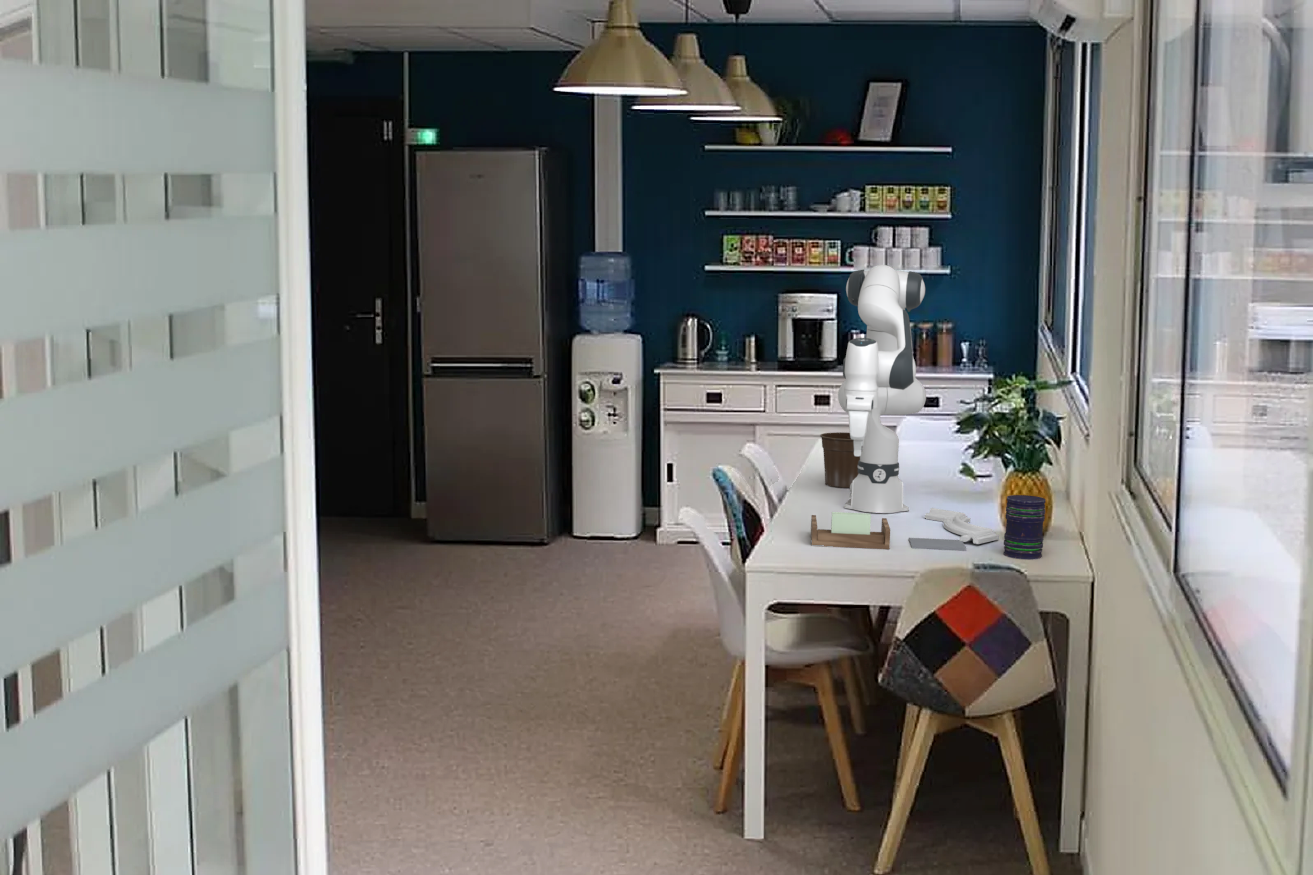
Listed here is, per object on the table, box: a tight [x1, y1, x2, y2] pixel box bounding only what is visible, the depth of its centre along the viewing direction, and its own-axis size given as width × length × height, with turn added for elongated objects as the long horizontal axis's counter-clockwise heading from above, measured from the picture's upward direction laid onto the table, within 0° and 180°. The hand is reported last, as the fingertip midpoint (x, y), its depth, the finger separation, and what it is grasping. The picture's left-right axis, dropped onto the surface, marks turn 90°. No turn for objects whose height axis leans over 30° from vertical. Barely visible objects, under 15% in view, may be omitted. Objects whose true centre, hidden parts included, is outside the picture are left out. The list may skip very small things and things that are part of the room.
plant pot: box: [819, 431, 860, 489], centre depth 518 cm, size 16×16×16 cm
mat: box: [908, 537, 967, 551], centre depth 427 cm, size 11×14×1 cm
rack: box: [810, 514, 891, 550], centre depth 428 cm, size 16×20×5 cm
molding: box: [924, 507, 1000, 545], centre depth 448 cm, size 42×12×3 cm, turn 6°
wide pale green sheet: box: [830, 511, 872, 535], centre depth 424 cm, size 2×10×7 cm, turn 86°
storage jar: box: [1003, 494, 1046, 561], centre depth 416 cm, size 10×10×15 cm
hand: (858, 454), depth 423 cm, fingers open, 8 cm apart
